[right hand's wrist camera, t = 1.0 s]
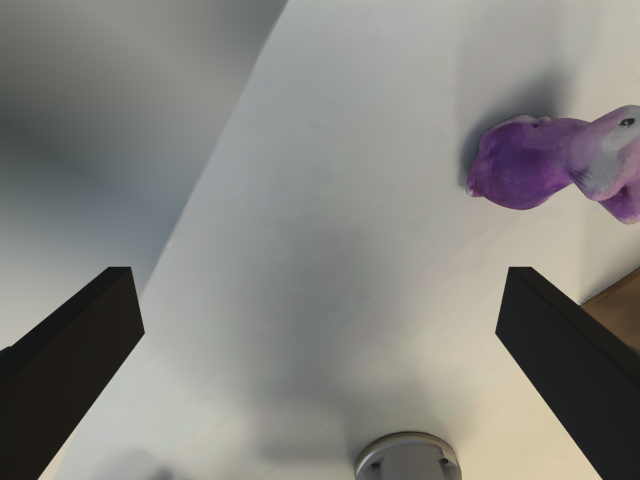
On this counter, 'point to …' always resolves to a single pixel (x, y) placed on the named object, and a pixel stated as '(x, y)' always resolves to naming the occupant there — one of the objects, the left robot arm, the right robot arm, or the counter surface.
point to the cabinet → (619, 309)
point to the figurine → (561, 161)
